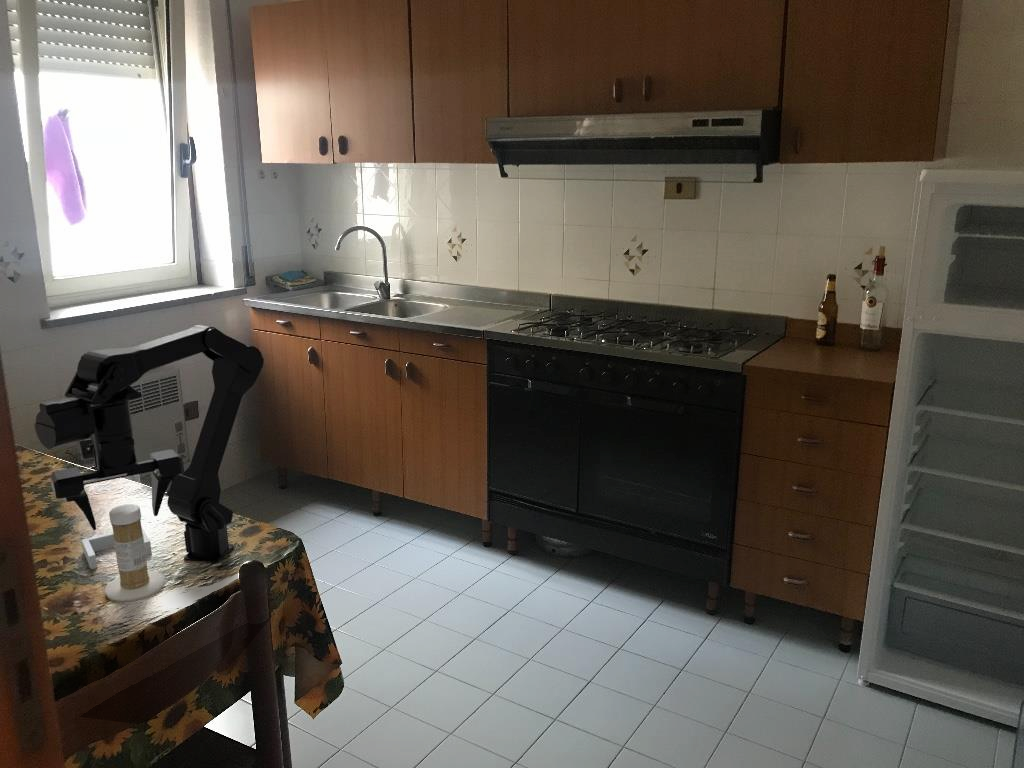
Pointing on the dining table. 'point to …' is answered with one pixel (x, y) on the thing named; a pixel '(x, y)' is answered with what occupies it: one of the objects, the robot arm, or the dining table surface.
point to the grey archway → (105, 546)
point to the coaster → (128, 595)
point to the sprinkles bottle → (129, 546)
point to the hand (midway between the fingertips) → (125, 522)
